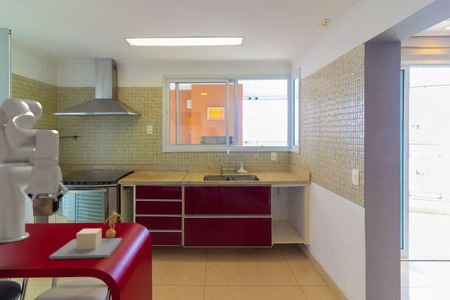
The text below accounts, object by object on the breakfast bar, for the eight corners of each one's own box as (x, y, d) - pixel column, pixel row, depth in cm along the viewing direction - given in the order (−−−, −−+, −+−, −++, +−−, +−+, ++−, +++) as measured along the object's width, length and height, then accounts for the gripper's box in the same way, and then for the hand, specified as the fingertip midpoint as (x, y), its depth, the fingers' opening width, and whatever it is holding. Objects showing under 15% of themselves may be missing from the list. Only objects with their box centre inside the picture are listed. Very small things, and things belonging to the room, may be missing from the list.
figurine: (115, 235, 132) (116, 208, 133) (124, 237, 129) (124, 210, 129) (99, 239, 125) (99, 211, 125) (108, 242, 122) (108, 213, 122)
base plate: (49, 259, 103) (49, 239, 103) (73, 241, 123) (73, 224, 123) (108, 257, 105) (108, 238, 105) (122, 240, 125) (122, 224, 125)
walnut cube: (33, 215, 106) (33, 199, 106) (41, 212, 112) (42, 196, 112) (50, 215, 106) (50, 199, 106) (58, 212, 112) (58, 196, 112)
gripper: (16, 163, 104) (15, 213, 104) (66, 164, 106) (65, 213, 106) (28, 162, 112) (27, 209, 112) (75, 162, 113) (74, 209, 113)
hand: (45, 210), depth 109 cm, fingers closed on walnut cube, 6 cm apart
